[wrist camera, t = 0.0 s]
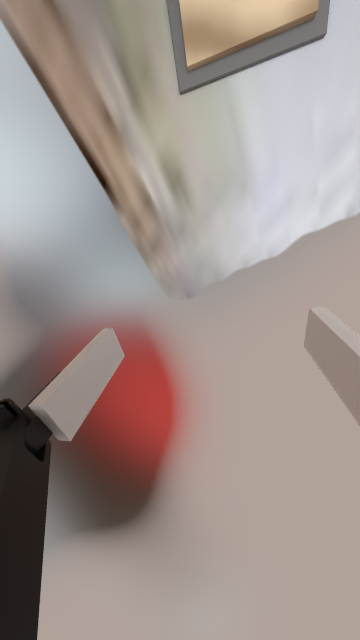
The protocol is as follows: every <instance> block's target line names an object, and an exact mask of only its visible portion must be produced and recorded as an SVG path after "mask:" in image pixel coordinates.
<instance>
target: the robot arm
mask: <svg viewBox="0 0 360 640" xmlns="http://www.w3.org/2000/svg"><path fill="white" fill-rule="evenodd" d="M304 346H305V348H306V349H307V351H308V352H309V354H310V355H311V357H312V358H313V359H314V361H315V362H316V363H317V365H318V367H319V368H320V370H321V371H322V372H323V374H324V375H325V377H326V378H327V380H328V381H329V382H330V384H331V385H332V387H333V388H334V390H335V391H336V393H337V394H338V395H339V397H340V398H341V399H342V401H343V403H344V404H345V405H346V407H347V408H348V410H349V411H350V413H351V414H352V415H353V417H354V418H355V420H356V421H357V422H358V424H359V426H360V335H358V334H357V333H356V332H355V331H353V330H352V329H351V328H350V327H349V326H347V325H346V324H345V323H344V322H342V321H341V320H340V319H339V318H338V317H336V316H335V315H334V314H333V313H331V312H330V311H329V310H328V309H327V308H325V307H315V308H309V314H308V321H307V329H306V335H305V342H304ZM124 356H125V355H124V353H123V351H122V349H121V346H120V344H119V342H118V339H117V337H116V335H115V332H114V330H113V328H104V329H103V330H102V331H101V332H100V333H99V334H98V335H97V336H96V337H95V338H94V339H93V340H92V341H91V342H90V343H89V344H88V345H87V346H86V347H85V348H84V349H83V350H82V351H81V352H80V353H79V354H78V355H77V356H76V357H75V358H74V359H73V360H72V361H71V362H70V363H69V364H68V366H66V368H65V369H64V370H63V371H61V372H60V373H58V374H57V375H56V376H55V377H54V378H53V379H52V380H51V382H49V383H48V384H47V385H46V386H45V388H43V389H42V390H41V391H40V393H38V394H37V395H36V396H35V397H34V399H32V400H31V402H30V403H28V405H27V406H26V407H25V408H24V409H23V410H21V409H20V408H19V407H18V406H17V405H16V404H15V403H14V401H13V400H11V399H10V398H9V399H3V400H1V401H0V640H37V631H38V618H39V604H40V591H41V576H42V562H43V550H44V536H45V523H46V509H47V495H48V481H49V468H50V454H51V442H50V440H49V438H50V436H51V435H52V434H53V435H55V437H56V438H57V439H58V440H61V441H71V440H72V438H73V437H74V435H75V433H76V432H77V430H78V429H79V427H80V426H81V424H82V422H83V421H84V419H85V418H86V416H87V415H88V413H89V411H90V410H91V408H92V407H93V405H94V404H95V402H96V400H97V399H98V397H99V396H100V394H101V392H102V391H103V389H104V388H105V386H106V384H107V383H108V381H109V380H110V378H111V377H112V375H113V373H114V372H115V370H116V369H117V367H118V366H119V364H120V362H121V361H122V359H123V358H124Z"/></svg>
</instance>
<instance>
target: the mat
mask: <svg viewBox="0 0 360 640" xmlns="http://www.w3.org/2000/svg"><path fill="white" fill-rule="evenodd" d="M167 4H168V12H169V19H170V26H171V33H172V41H173V48H174V55H175V62H176V70H177V77H178V84H179V91H180V94H182V93H185V92H187V91H190V90H192V89H195V88H197V87H200V86H202V85H205V84H207V83H210V82H212V81H215V80H217V79H220V78H222V77H225V76H227V75H230V74H232V73H235V72H237V71H240V70H243V69H245V68H248V67H250V66H253V65H255V64H258V63H260V62H263V61H265V60H268V59H270V58H273V57H275V56H278V55H280V54H283V53H285V52H288V51H290V50H293V49H295V48H298V47H300V46H303V45H305V44H308V43H310V42H313V41H315V40H318V39H320V38H323V37H324V36H325V34H326V33H327V23H328V14H329V5H330V0H319V5H318V11H317V13H316V15H315V17H314V18H313V19H311V20H309V21H306V22H304V23H302V24H299V25H297V26H295V27H292V28H290V29H288V30H285V31H283V32H280V33H278V34H276V35H273V36H271V37H269V38H266V39H264V40H262V41H259V42H257V43H255V44H252V45H250V46H248V47H245V48H243V49H240V50H238V51H236V52H233V53H231V54H229V55H226V56H224V57H222V58H219V59H217V60H215V61H212V62H210V63H208V64H205V65H203V66H200V67H198V68H196V69H193V70H191V71H189V72H188V68H187V61H186V53H185V44H184V36H183V28H182V19H181V11H180V3H179V0H167Z"/></svg>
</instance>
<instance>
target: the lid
mask: <svg viewBox="0 0 360 640" xmlns="http://www.w3.org/2000/svg"><path fill="white" fill-rule="evenodd" d="M179 3H180V11H181V19H182V28H183V36H184V44H185V53H186V61H187V68H188V72H189V71H191V70H193V69H196V68H198V67H200V66H203V65H205V64H208V63H210V62H212V61H215V60H217V59H219V58H222V57H224V56H226V55H229V54H231V53H233V52H236V51H238V50H240V49H243V48H245V47H248V46H250V45H252V44H255V43H257V42H259V41H262V40H264V39H266V38H269V37H271V36H273V35H276V34H278V33H280V32H283V31H285V30H288V29H290V28H292V27H295V26H297V25H299V24H302V23H304V22H306V21H309V20H311V19H313V18H314V17H315V15H316V13H317V11H318V5H319V0H179Z"/></svg>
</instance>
